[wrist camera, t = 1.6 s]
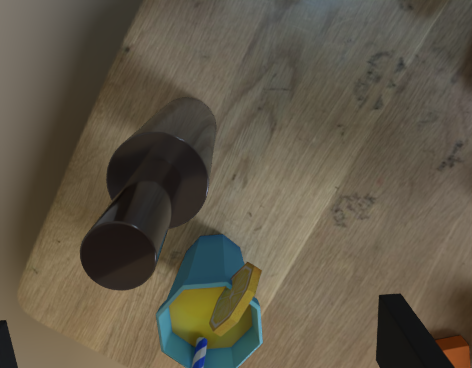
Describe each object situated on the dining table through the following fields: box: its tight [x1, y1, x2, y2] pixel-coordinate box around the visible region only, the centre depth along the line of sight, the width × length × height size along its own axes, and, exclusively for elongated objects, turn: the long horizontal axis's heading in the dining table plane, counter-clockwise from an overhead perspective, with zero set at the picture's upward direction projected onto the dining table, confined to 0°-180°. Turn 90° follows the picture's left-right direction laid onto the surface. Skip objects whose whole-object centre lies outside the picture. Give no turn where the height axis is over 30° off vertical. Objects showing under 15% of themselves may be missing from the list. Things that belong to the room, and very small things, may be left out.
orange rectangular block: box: [435, 335, 470, 368], centre depth 43 cm, size 5×4×2 cm
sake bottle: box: [80, 97, 217, 290], centre depth 25 cm, size 5×5×24 cm
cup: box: [156, 234, 263, 368], centre depth 33 cm, size 14×8×15 cm, turn 162°
